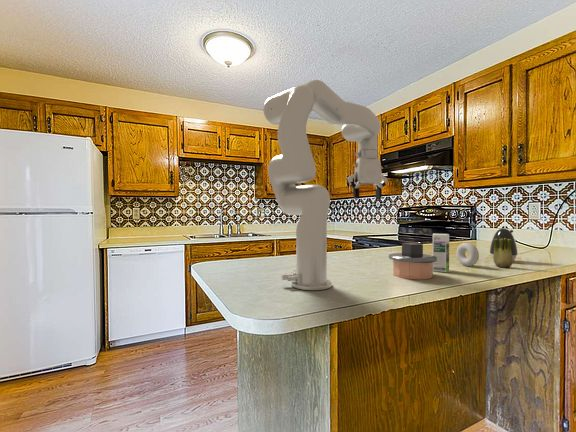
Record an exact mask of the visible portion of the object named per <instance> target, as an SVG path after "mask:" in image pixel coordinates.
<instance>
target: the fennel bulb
mask: <svg viewBox="0 0 576 432" xmlns="http://www.w3.org/2000/svg"><path fill="white" fill-rule="evenodd" d="M511 242H512V240H510V239H508V240H507V239H506V238H504V244H503V239H499V248H498V240H497V239H494V255H493V257H494V259H493V263H494V265H495V267H499V268H503V269H505V268H506V269H508V268H510V267H511V266H512V265H513V261H514V260H513V258H512V252H511Z"/></svg>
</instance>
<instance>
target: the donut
mask: <svg viewBox="0 0 576 432" xmlns="http://www.w3.org/2000/svg"><path fill="white" fill-rule="evenodd" d="M466 252H468V254H469V255H468V257H467V256H466ZM455 255H456V256H455V257H456V259H457V261H458V262H459V263H460V264H461V265H463V266H465V267H473V266H475V265H476V264H477V263H478V261H479V257H480V254H479V250H478V248H477V247H476V245H474V244H472V243H470V242H463V243H460V244H459V245H458V246H457V248H456V253H455Z"/></svg>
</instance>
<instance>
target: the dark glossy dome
mask: <svg viewBox="0 0 576 432" xmlns="http://www.w3.org/2000/svg"><path fill="white" fill-rule="evenodd" d="M513 232H514V229H511V230H509V229H508V228H499V229H497V231H495V233H494V235H493V237H492V240H491V243H490V246H489V247H490V248H489V253H490V255H491V258H492V259H493V260H494V257H493V255H494V239H497V240H498V248H499V239H503V244H504V238H506V239H507V240H508V239H510V240H512V242H511V252H512V258H513V261H515V260H516V258H517V255H518V247H517V243H516V240H515V237H514V235H513Z"/></svg>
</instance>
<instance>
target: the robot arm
mask: <svg viewBox="0 0 576 432" xmlns="http://www.w3.org/2000/svg"><path fill="white" fill-rule="evenodd" d="M312 111H313V112H315V114H317V115H318V116H319V117H321V118H322V119H323V120H324V121H325V122H327V123H329V124H330V125H340V126H341V125H342V127H341V135H342V137H343V139H344V140H345V141H348V142H354V143H357V151H355V153H354V155H355V157H357V159H356V160H355V167H354V173H353V174H351V175H350V176H348V177H347V182H348V184H349V186H350V187H351V188H352V189H353V190H352V191H353V192H352V194H353V196H352V197H353V199H354V200H357V199H360V188H359V187H360V185H370V186H371V185H374V188H376V189H375V199H376V200H381V199H382V195H383V194H382V193H383V192H382V191H383V189H384V187H385V186H386V183H387V181H388V179H389V178H387V177H386V176H385V175H383V173H382V171H383V170H382V166H381V165H382V164H381V160H380V158H378V135H379V134H380V131H381V129H382V127H381V126H382V125H381V123H380V119H379V118H378V116H377V115H376V114H375V113H374V112H373V111H372V110H371V109H370V108H368V107H367V106H364V105H361V104H356V103H354V102H350V101H345V100H343V99H342V98H341V97H340V96H339V95H338V94H337V93H336V92H335V91H334V90H333V89H331V88H330V86H328V85H327V84H326V83H325V82H324V81H322V80H320V79H313V80H310V81H307V82H305V83H302V84H300V85H297V86H294V87H291V88H289V89H286V90H284V91H281V92H279V93H277V94H275V95H272V96H271V97H268V98H267V99H266V100H265V102H264V104H263V113H264V114H263V115H264V117H265V120H267V121H268V122H269V123H270V124H272V125H278V128H277V136H276V137H277V142H278V146H279V149H280V152H281V154H279V155H276V156H274V157H273V158H271V159H270V161H269V163H268V166H267V174H268V180H269V183H270V185H271V188H272V190H273V194H274V196H275V200H276V202H277V204H278V206H279V209H280V210H281V211H282V213H284V214H285V215H290V216H300V217H299V220H298V222H297V225H296V230H295V234H296V235H295V237H296V240H295V241H296V242H295V243H296V244H295V245H296V246H295V247H296V249H295V251H296V254H295V255H296V257H295V259H296V260H295V262H296V265H295V266H296V267H295V268H296V269H293V272H291V273H282V274H281V277H280V279H281V280H282V281H287V282H291V287H293V288H294V289H298V290H302V291H303V290H304V291H322V290H328V289H329V288H331V287H332V285H333V283H332V281H331V280H329V279H327V278H328V276H327V271H328V270H327V268H328V267H327V266H328V265H327V261H328V260H327V259H328V258H327V257H328V255H327V249H328V248H327V246H328V245H327V244H328V243H327V241H328V240H327V238H328V237H327V236H328V235H327V232H328V231H327V225H328V224H327V223H328V215H329V210H330V209H329V208H330V204H331V196H330V193H329V191H328V190H327V188H326V187H324V186H322V185H320V184H305V185H304V184H303V185H296V184H302V183H308V182H310V181H312V180H314V178H315V177H316V175H317V169H316V164H315V161H314V156H313V153H312V149H311V146H310V143H309V139H308V135H307V134H308V133H307V124H308V121H309V117H310V114H311V112H312ZM353 180H354V181H353Z"/></svg>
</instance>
